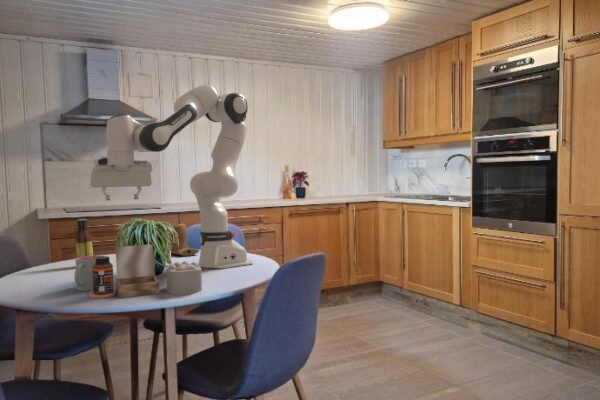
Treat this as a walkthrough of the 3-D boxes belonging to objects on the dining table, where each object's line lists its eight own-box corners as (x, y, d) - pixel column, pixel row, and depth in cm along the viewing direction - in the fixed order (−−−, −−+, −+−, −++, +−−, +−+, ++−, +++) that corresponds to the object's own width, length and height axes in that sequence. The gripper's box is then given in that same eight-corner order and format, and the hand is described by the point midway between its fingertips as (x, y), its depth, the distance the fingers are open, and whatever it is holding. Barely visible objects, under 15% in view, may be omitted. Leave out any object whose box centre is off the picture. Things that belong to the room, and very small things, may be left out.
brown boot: (161, 254, 221) (160, 223, 220) (184, 251, 229) (183, 221, 228) (176, 258, 210) (175, 225, 209) (200, 255, 218) (199, 223, 217)
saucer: (115, 291, 150) (115, 288, 150) (116, 296, 144) (116, 294, 143) (89, 294, 147) (89, 291, 147) (89, 299, 140) (89, 297, 140)
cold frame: (153, 282, 162) (152, 244, 161) (159, 293, 147) (157, 250, 147) (116, 286, 157) (115, 246, 157) (118, 297, 143) (117, 253, 142)
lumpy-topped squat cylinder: (172, 295, 144) (171, 268, 144) (163, 287, 156) (162, 261, 155) (205, 291, 149) (204, 264, 149) (193, 283, 161) (192, 258, 160)
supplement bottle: (106, 295, 142) (105, 259, 141) (89, 294, 143) (87, 258, 143) (117, 290, 148) (116, 255, 147) (101, 290, 149) (99, 255, 148)
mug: (86, 283, 162) (85, 255, 161) (111, 284, 161) (110, 255, 160) (62, 293, 148) (60, 263, 148) (89, 294, 147) (88, 263, 147)
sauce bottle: (92, 264, 199) (90, 218, 198) (94, 266, 193) (93, 219, 192) (75, 266, 195) (73, 219, 194) (77, 268, 190) (75, 220, 189)
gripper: (150, 161, 171) (151, 198, 171) (89, 161, 163) (91, 200, 163) (152, 160, 165) (153, 199, 166) (89, 160, 157) (91, 201, 157)
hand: (122, 199), depth 164 cm, fingers open, 8 cm apart
